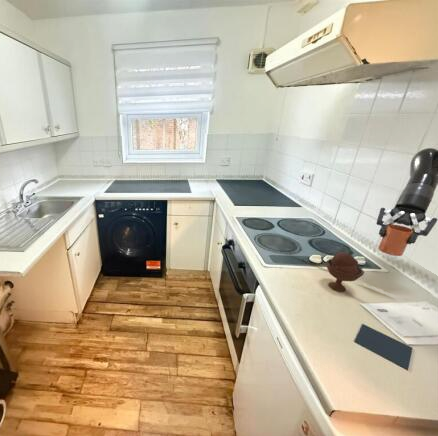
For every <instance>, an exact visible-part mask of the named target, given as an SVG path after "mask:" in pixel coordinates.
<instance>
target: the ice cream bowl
mask: <svg viewBox="0 0 438 436" xmlns="http://www.w3.org/2000/svg"><path fill="white" fill-rule="evenodd" d="M325 265H326V268H327V271H328V273H329V274H330V276H332V277H333V278H334V279H336V280H335V281H330V282H329V283H327V285H328V288H330V289H331V290H333V291H335V292H338V293H345V292H346V291H347V289H346V286H345V285H343V284H342V283H343V282H354V281H357V280H359V279H360V278H361V277H363V275H364V274H365V271H364V270H363V268H362V267H361V266H359V261H358V260H357V259H356V258H355V257H354V256H352V254H350V253H348V252H338V253H335V255H333V257H332V258H330V259H328V260H327V259H326V261H325Z"/></svg>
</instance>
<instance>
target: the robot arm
mask: <svg viewBox="0 0 438 436" xmlns="http://www.w3.org/2000/svg"><path fill="white" fill-rule="evenodd" d="M437 187H438V149H437V148H432V147H425V148H424V149H421V150H419V151H418V152H416V153H415V155H413V157H412V159H411V160H410V167H409V179H408V181H407V183H406V185H405V187H404V189H402V190H401V193H400V194H399V197H398V199H397V201H396V204H395V205H394V207H393V208H392V209H386V208H385V207H381V208H380V209H379V213H378V216H377V220H376V223H375V224H376V225H377V226H380V229H379V231H378V235H379V237H380V238H383V236H384V233H385V231H386V228H387V226H388V225H395V224H396V225H404V226H405V227H409V228H410V229H412V230H413V231H414V232H413V234H412V236H411V238H410V240H409V242H408V244H407V245H412V244H413V245H414V244H416V241H417V239H418V238H419V236H423V237H427V236H428V235H429V234H430V232H431V231H432V230H433V229H434V226H435V225H436V224H437V222H438V218H437V217H433V218H431V217H427V216H426V213H427V211H428V209H429V206H430V204H431V202H432V200H433V198H434V194H435V191H436V189H437ZM387 215H390V218H388V219H387V220H385V221H384V220H383V219H384V216H387ZM421 222H425V223H424V224H425V225H426V227H425V228H424V229H421V228H420V224H419V223H421Z"/></svg>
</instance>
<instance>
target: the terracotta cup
mask: <svg viewBox="0 0 438 436" xmlns="http://www.w3.org/2000/svg"><path fill="white" fill-rule="evenodd" d="M413 232H414V231H413V230H412V229H411V227H409V226H405V225H404V226H403V225H401V224H393V225H388V226H387V228H386V231H385V233H384V236H383V237H381V240H380V242H379V245H378V248H377V250H378V251H380V252H381V253H384V254H386V255H390V256H394V257H402V256H403V255H404V252H405V251H406V248H407V246H408V245H409V244H408V242H409V240H410V238H411V236H412V234H413Z"/></svg>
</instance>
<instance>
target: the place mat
mask: <svg viewBox="0 0 438 436" xmlns="http://www.w3.org/2000/svg"><path fill="white" fill-rule="evenodd" d="M353 342H354V343H356V344H357V345H360V346H361V347H363V348H364V349H367V350H369V351H370V352H373V354H376V355H378V356H380V357H382V358H384V359H385V360H387V361H388V362H389V361H390V362H391V363H393V364H395V365H397V366H399V367H401V368H403V369H405V370H406V371H408V370H409V367H410V363H411V357H412V353H413V347H412V346H410V345H408V344H406V343H403V342H401V341H400V340H397V339H396V338H393V337H392V336H389V335H388V334H385V333H383V332H381V331H379V330H376V329H375V328H373V327H370V326H369V325H366V324H364V323H362V324H361V326H360V328H359V330H358V332H357V334H356V337H355V338H354V340H353Z"/></svg>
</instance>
